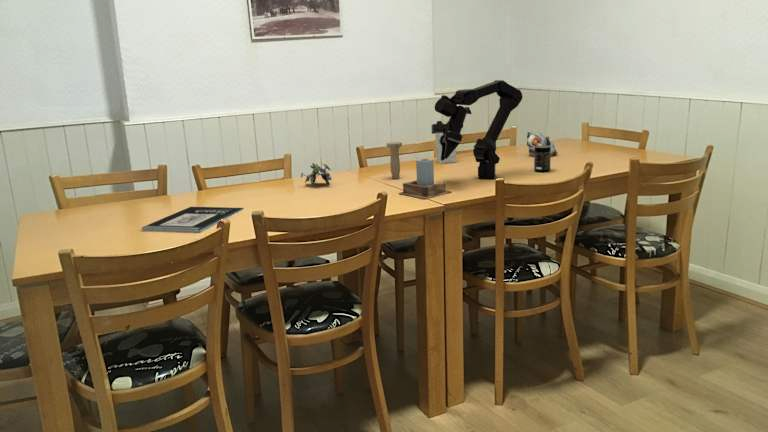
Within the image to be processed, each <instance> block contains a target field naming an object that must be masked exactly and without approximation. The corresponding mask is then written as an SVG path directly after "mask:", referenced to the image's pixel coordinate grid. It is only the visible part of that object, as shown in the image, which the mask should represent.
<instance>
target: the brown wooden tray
mask: <svg viewBox="0 0 768 432" xmlns="http://www.w3.org/2000/svg"><path fill="white" fill-rule="evenodd" d="M446 185H447V183H446V182H442V181H441V182H438V183H434V184H433V185H429V186H421V185H417V179H416V180H413V181H407V182H404V183H402V191H401V192H398V195H400V196H401V195H402V196H406V197H410V198H415V199H421V200H424V201H425V200H429V199H432V198H435V197H436V196H437V197H440V196H444V195H447V194H451V193H452V190H447V189H446V187H447V186H446ZM437 197H436V198H437Z"/></svg>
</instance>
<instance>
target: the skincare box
mask: <svg viewBox="0 0 768 432" xmlns="http://www.w3.org/2000/svg"><path fill="white" fill-rule="evenodd" d="M434 135H435V136H434V137H435V153H436V162H437V163H438V164H440V165H442V164H449V163H456V162H457V154H456V152H457V151H456V149H457V147H456V148H455V150H454V151H453V152H452V153H451V154H450V156H449V157H448V158H447V159H444V160H443V161H442V160H441V151H442V146H441V144H440V143H439V142H440V141H439V140H440V137H441V136H443V133H435V134H434Z"/></svg>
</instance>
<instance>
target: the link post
mask: <svg viewBox="0 0 768 432" xmlns="http://www.w3.org/2000/svg"><path fill="white" fill-rule="evenodd" d="M415 161H416V162H415V163H416V180H417V185H421V186H429V185H433V184H435V173H434V159H429V158H422V159H417V160H415Z"/></svg>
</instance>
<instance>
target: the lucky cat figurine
mask: <svg viewBox="0 0 768 432" xmlns="http://www.w3.org/2000/svg"><path fill="white" fill-rule="evenodd" d="M526 137H527V139H526V145H527V147H528V153H529V155H530V156H531V157H534V147H535V146H540V145H546V146H551V157H555V156H556V155H558V154H559V153H558V151H557V149H556V148H555V145H554V143H553V142H552V141H551V140H550V137H549V136H548V135H547V136H544V135H543V134H542V133H540V132H532V131H528V132H527V135H526Z"/></svg>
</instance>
